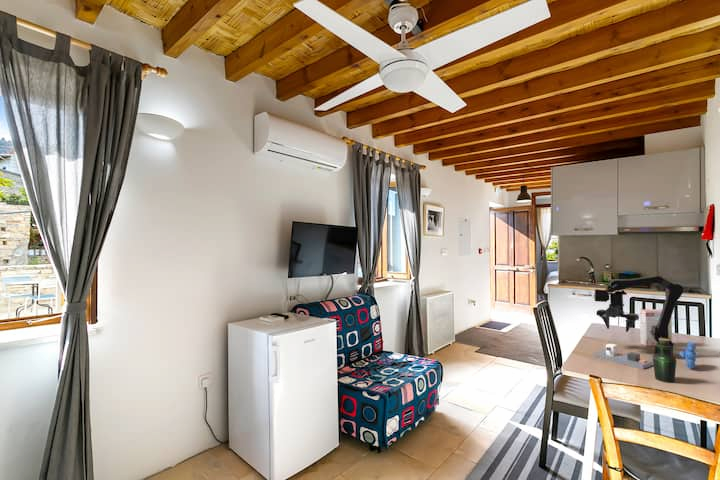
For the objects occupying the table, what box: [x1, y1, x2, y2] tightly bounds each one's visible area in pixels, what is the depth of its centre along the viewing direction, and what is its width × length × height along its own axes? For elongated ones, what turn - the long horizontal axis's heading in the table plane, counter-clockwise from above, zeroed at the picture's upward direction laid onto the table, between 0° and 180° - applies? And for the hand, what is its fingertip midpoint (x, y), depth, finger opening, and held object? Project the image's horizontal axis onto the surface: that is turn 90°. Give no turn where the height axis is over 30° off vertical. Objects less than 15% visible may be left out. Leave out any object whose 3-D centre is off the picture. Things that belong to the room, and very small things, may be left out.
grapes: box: [678, 342, 699, 370], centre depth 174 cm, size 12×7×12 cm, turn 135°
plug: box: [605, 343, 619, 357], centre depth 188 cm, size 4×6×7 cm, turn 120°
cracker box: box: [639, 308, 673, 348], centre depth 209 cm, size 14×6×21 cm, turn 84°
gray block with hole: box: [593, 349, 654, 370], centre depth 184 cm, size 22×10×5 cm, turn 29°
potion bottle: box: [652, 338, 678, 383], centre depth 159 cm, size 8×8×18 cm
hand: (617, 330), depth 199 cm, fingers open, 9 cm apart
